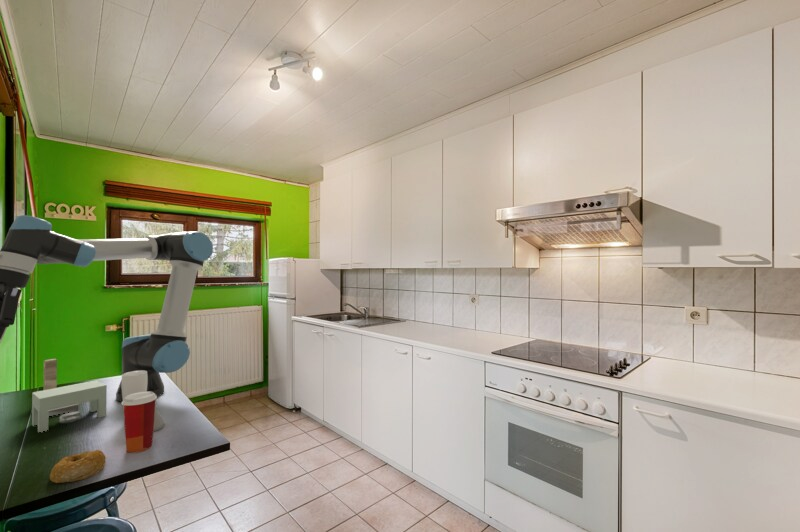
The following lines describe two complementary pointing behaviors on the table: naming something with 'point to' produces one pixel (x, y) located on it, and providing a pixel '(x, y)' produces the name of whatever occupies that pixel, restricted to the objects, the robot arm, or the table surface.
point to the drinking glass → (134, 382)
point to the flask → (157, 419)
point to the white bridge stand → (67, 400)
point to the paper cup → (139, 420)
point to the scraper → (54, 385)
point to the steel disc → (70, 417)
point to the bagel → (78, 466)
